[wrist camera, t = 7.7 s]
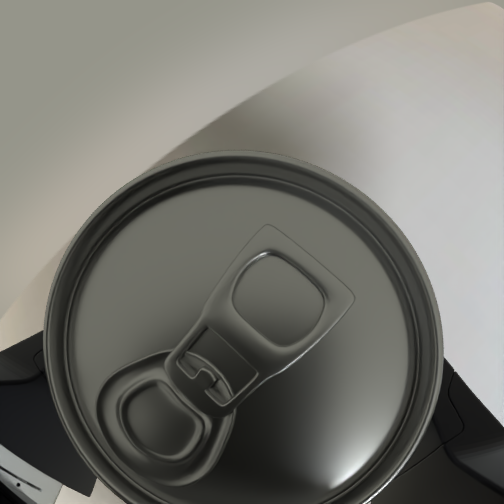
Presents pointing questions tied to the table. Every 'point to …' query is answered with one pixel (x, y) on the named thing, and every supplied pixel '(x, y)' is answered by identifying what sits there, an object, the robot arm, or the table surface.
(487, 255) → the table surface
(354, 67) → the table surface
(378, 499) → the robot arm
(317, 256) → the can
